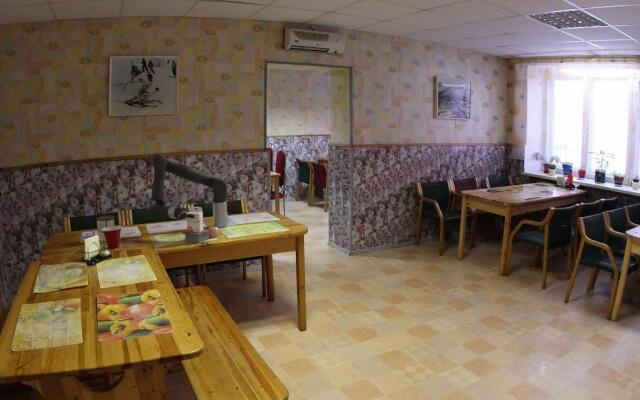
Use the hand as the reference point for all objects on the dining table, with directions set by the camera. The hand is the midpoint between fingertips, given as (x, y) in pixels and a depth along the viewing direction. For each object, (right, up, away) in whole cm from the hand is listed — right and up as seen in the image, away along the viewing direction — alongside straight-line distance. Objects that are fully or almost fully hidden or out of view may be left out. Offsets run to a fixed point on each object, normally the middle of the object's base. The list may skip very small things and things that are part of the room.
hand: (198, 215), depth 281 cm
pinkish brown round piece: (+6, -14, +12) cm, 20 cm away
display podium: (-2, -16, +4) cm, 16 cm away
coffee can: (-57, -16, +4) cm, 59 cm away
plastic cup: (-46, -19, -12) cm, 51 cm away
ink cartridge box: (-2, -10, +2) cm, 10 cm away
